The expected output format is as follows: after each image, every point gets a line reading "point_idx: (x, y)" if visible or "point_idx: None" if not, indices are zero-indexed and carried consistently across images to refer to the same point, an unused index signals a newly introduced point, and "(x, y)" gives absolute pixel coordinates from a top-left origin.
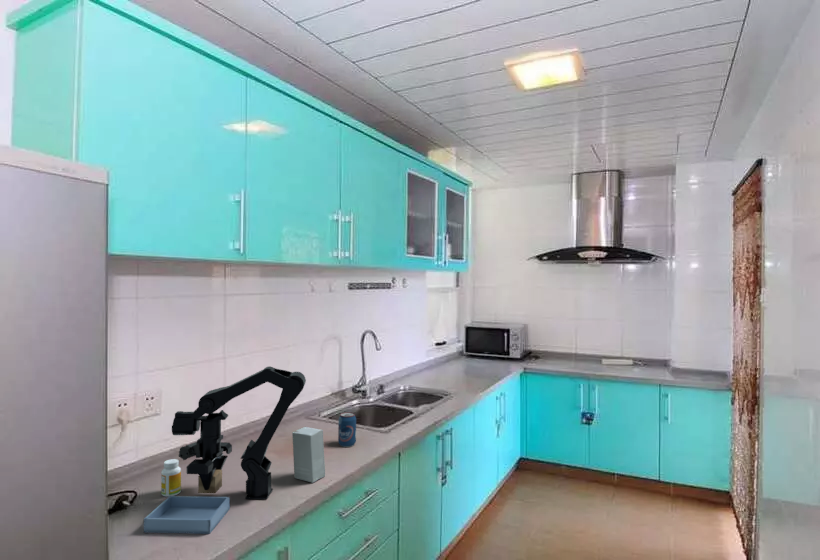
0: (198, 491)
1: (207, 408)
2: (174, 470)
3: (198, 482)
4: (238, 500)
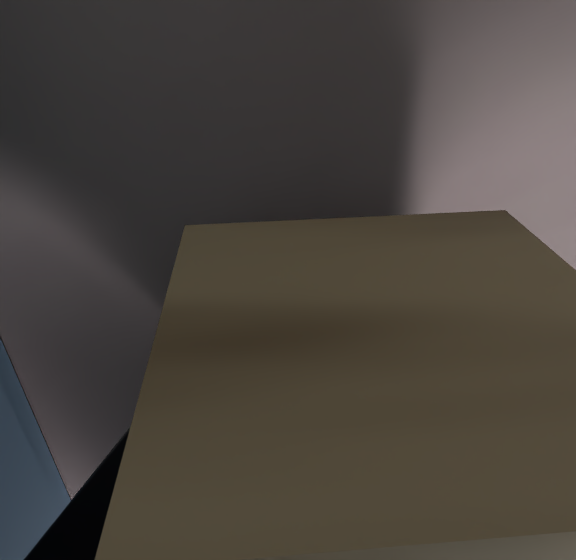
0: (181, 242)
1: None
2: None
3: (150, 366)
4: None
